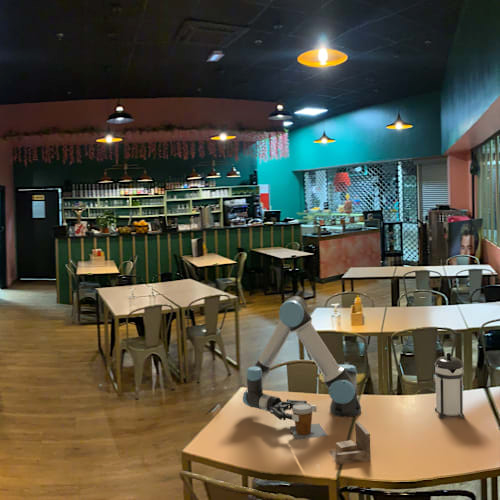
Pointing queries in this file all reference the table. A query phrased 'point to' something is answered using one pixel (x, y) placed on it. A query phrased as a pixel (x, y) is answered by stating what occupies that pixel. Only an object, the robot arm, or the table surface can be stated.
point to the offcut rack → (362, 447)
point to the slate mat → (315, 432)
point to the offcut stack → (346, 446)
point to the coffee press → (449, 386)
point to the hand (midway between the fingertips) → (307, 413)
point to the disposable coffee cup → (303, 418)
